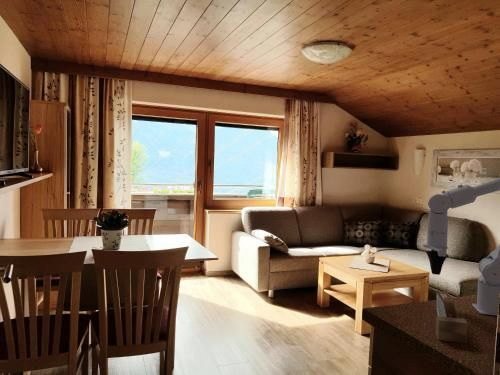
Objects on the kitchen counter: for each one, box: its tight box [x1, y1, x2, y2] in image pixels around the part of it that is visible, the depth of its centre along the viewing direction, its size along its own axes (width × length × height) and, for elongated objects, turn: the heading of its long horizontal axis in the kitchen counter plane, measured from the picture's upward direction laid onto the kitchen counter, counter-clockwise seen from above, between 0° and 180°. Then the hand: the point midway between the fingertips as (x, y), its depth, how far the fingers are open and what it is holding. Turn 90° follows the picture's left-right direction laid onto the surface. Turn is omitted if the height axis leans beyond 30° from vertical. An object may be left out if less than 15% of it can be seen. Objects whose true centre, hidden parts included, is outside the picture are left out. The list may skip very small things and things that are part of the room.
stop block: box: [435, 315, 468, 344], centre depth 94 cm, size 6×3×5 cm, turn 77°
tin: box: [435, 290, 458, 318], centre depth 103 cm, size 15×3×8 cm, turn 163°
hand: (435, 274), depth 120 cm, fingers closed
